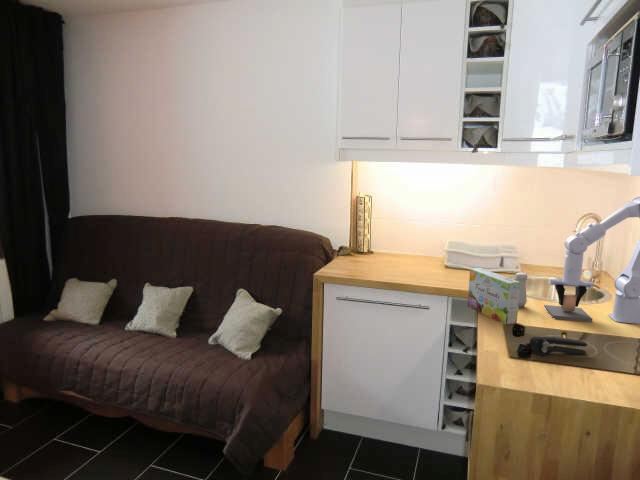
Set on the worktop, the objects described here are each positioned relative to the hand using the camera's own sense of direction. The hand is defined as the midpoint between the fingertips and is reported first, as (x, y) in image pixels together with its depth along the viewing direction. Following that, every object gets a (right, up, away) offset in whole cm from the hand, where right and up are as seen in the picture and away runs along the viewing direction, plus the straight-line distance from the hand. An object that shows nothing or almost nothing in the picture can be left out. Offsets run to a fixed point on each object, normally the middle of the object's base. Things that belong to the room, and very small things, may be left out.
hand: (568, 305), depth 181 cm
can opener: (-21, -10, -36) cm, 43 cm away
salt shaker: (-15, -2, +9) cm, 18 cm away
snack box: (-29, -3, -2) cm, 30 cm away
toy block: (0, -2, 0) cm, 2 cm away
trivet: (0, -4, +1) cm, 4 cm away
